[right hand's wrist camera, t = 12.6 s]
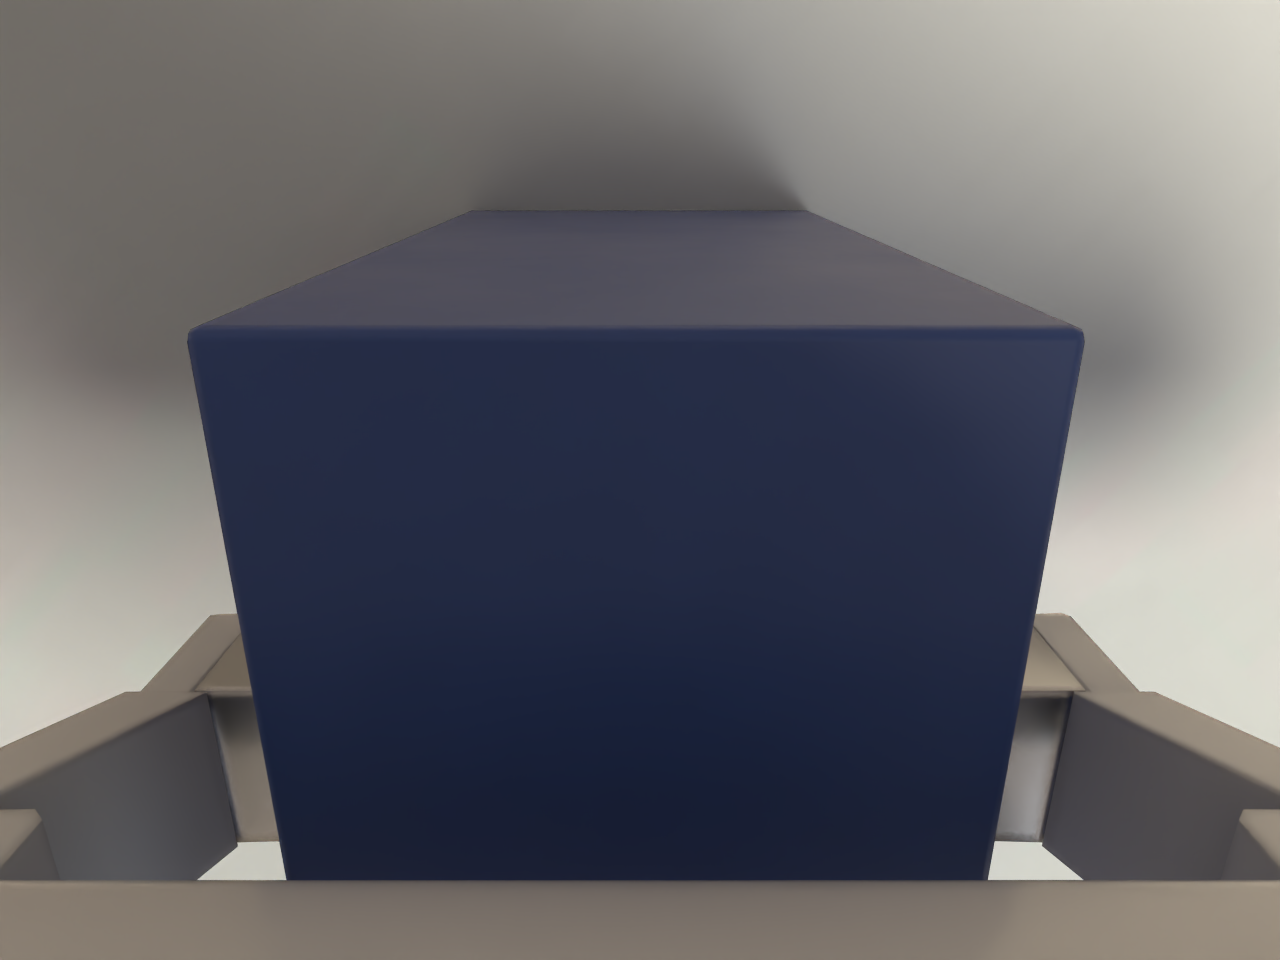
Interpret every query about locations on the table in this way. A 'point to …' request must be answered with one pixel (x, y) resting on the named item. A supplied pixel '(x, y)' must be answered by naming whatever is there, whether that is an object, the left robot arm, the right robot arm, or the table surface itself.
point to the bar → (636, 548)
